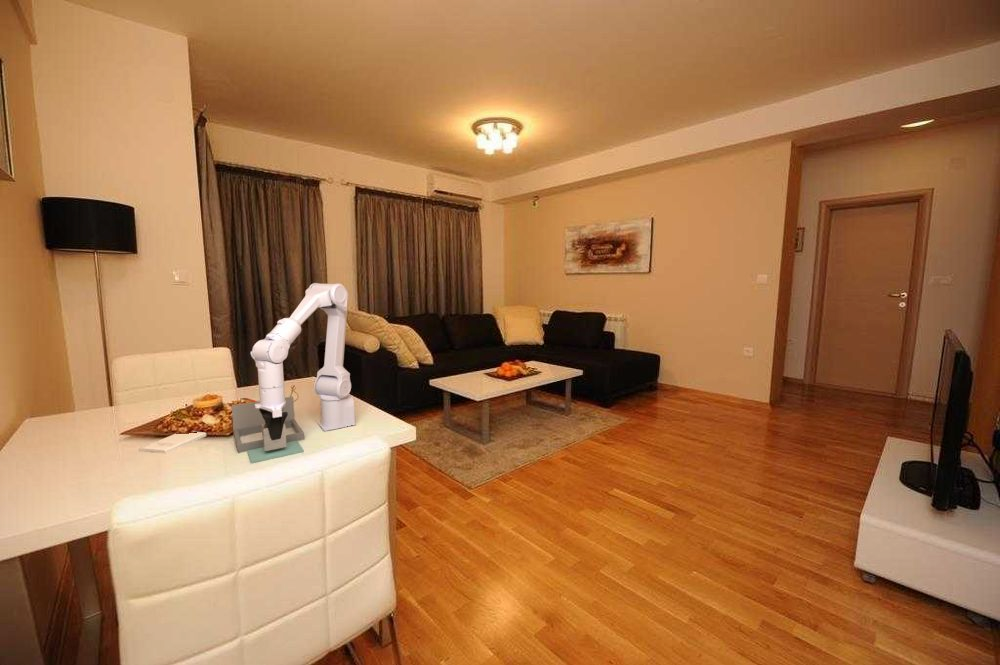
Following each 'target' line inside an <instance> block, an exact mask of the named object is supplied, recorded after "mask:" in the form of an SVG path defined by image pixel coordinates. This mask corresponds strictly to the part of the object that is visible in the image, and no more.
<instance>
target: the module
mask: <svg viewBox="0 0 1000 665" xmlns="http://www.w3.org/2000/svg"><path fill="white" fill-rule="evenodd" d="M261 427H262V432H261V440H262V443H263V448H264V451H269V450H274V449H278V448H283V447H287V446H286V435H287V431H286V430H287V428H285V424H284V425H283V429H282V435H281V439H277V440H271V437H270V434H269V430H268V426H267V423H265V424H261Z"/></svg>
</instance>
